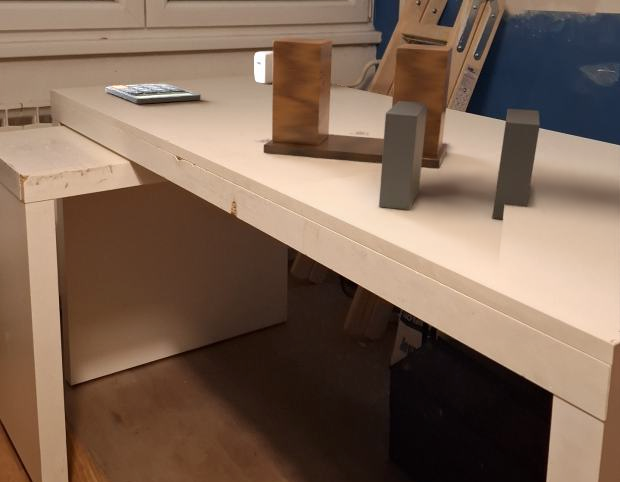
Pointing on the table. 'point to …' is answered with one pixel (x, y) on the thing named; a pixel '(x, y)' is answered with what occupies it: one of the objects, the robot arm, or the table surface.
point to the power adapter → (264, 67)
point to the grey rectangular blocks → (409, 148)
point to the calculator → (152, 93)
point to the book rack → (316, 100)
